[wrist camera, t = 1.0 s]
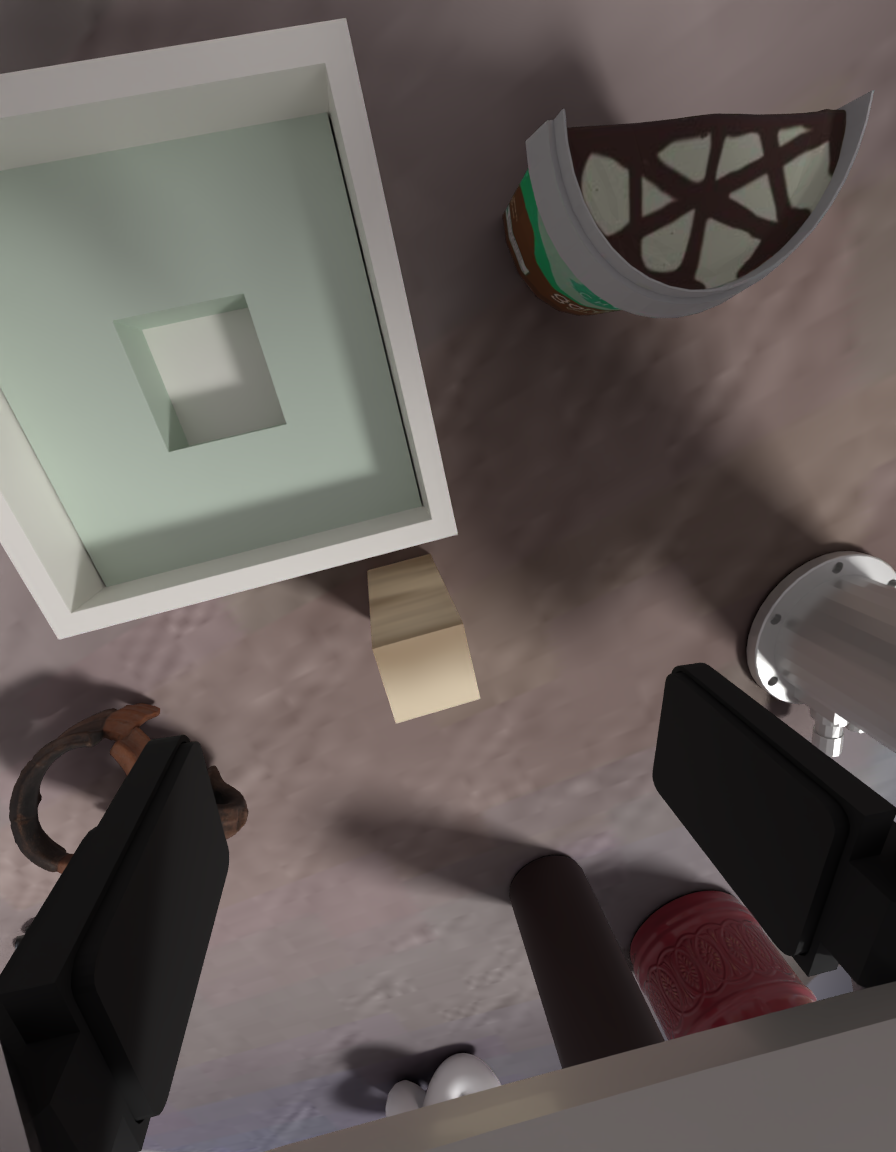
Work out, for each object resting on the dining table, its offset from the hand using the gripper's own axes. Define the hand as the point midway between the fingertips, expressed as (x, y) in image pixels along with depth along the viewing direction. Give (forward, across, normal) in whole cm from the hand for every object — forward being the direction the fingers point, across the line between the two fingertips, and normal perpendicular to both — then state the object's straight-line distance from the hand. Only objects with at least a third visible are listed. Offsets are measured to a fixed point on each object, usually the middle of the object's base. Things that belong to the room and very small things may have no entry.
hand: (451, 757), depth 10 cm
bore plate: (+21, +8, -8) cm, 23 cm away
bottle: (+21, -11, +34) cm, 41 cm away
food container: (+21, -12, -12) cm, 27 cm away
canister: (+21, -26, +45) cm, 56 cm away
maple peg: (+21, -1, +5) cm, 21 cm away
